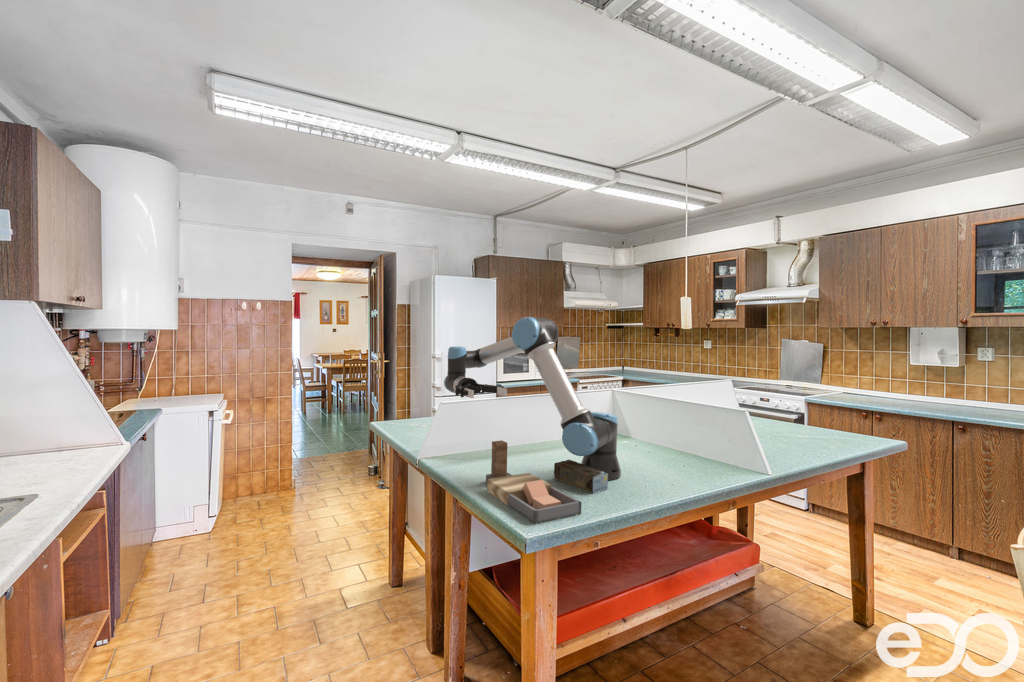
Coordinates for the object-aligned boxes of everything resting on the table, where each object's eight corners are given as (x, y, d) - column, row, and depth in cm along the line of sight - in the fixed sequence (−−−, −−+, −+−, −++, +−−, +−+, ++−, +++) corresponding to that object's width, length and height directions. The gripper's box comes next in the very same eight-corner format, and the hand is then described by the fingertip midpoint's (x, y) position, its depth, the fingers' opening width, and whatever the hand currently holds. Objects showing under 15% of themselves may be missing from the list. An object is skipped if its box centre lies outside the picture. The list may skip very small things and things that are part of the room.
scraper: (485, 481, 166) (486, 441, 166) (505, 478, 170) (506, 439, 170) (491, 485, 162) (492, 444, 162) (511, 482, 166) (512, 442, 166)
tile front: (543, 504, 136) (543, 515, 136) (560, 501, 139) (560, 511, 139) (532, 498, 141) (532, 508, 141) (549, 495, 144) (549, 504, 144)
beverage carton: (592, 494, 156) (592, 474, 156) (552, 479, 171) (553, 461, 171) (608, 490, 161) (609, 470, 160) (568, 475, 176) (568, 458, 176)
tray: (508, 505, 144) (508, 494, 144) (551, 497, 152) (552, 486, 152) (535, 524, 131) (535, 511, 131) (581, 513, 139) (581, 502, 139)
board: (487, 491, 156) (487, 479, 156) (528, 484, 164) (528, 472, 164) (507, 505, 144) (508, 492, 144) (551, 497, 152) (551, 484, 152)
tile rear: (522, 487, 147) (525, 482, 145) (538, 485, 150) (542, 479, 148) (529, 505, 143) (533, 500, 141) (546, 502, 146) (550, 496, 144)
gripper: (493, 394, 197) (519, 401, 179) (436, 397, 185) (457, 405, 167) (493, 376, 197) (519, 381, 179) (436, 378, 185) (458, 384, 166)
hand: (489, 393), depth 173 cm, fingers open, 13 cm apart
